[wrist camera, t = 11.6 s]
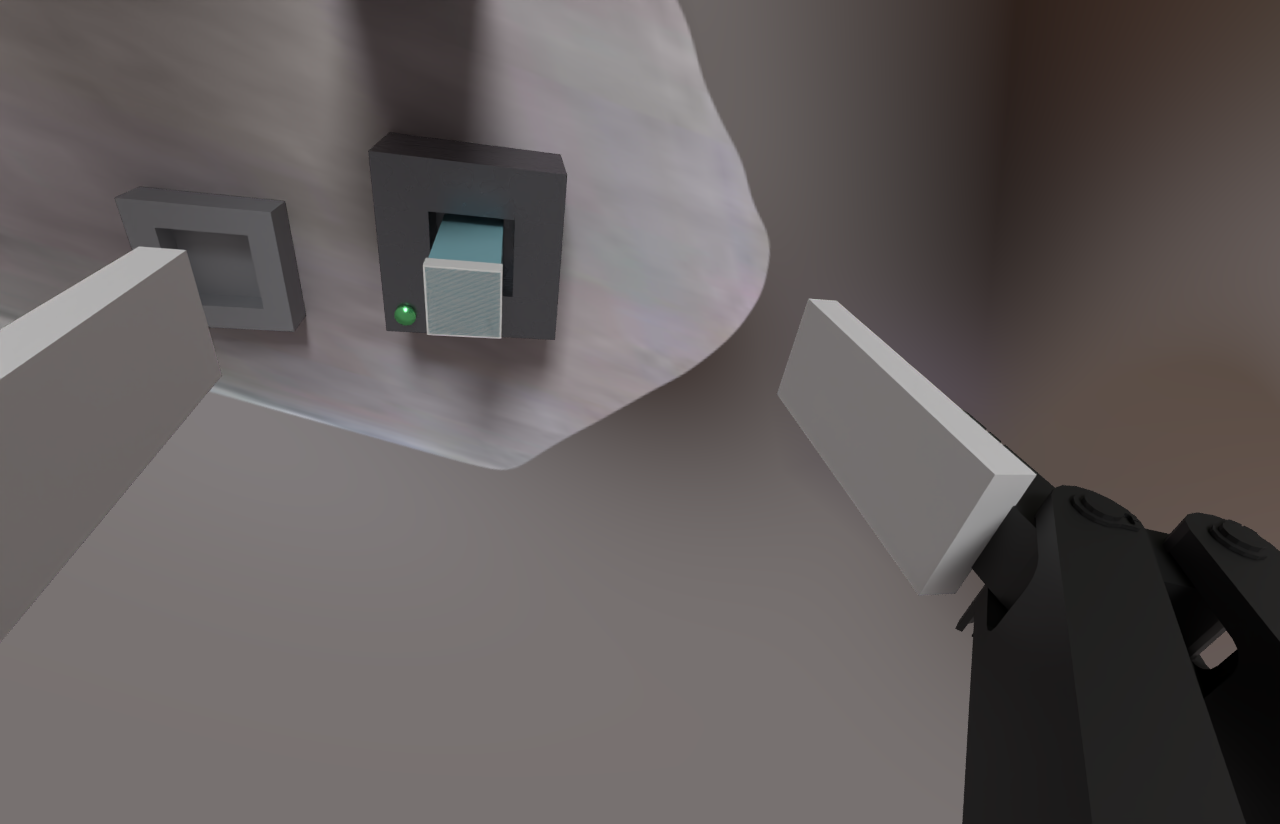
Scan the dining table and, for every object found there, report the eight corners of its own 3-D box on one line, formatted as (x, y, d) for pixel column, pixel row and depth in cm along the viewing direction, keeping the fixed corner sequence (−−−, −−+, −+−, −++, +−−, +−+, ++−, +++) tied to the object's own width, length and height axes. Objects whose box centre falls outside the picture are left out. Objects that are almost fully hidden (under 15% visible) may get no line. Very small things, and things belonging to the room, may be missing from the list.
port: (389, 132, 40) (366, 152, 34) (560, 154, 43) (567, 176, 37) (402, 293, 46) (385, 333, 40) (550, 302, 49) (555, 342, 43)
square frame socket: (139, 186, 39) (114, 197, 37) (285, 201, 41) (270, 212, 39) (177, 307, 44) (157, 324, 42) (305, 315, 46) (294, 331, 44)
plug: (444, 206, 41) (422, 265, 31) (505, 212, 42) (502, 271, 32) (447, 263, 43) (427, 334, 33) (504, 268, 44) (501, 338, 34)
